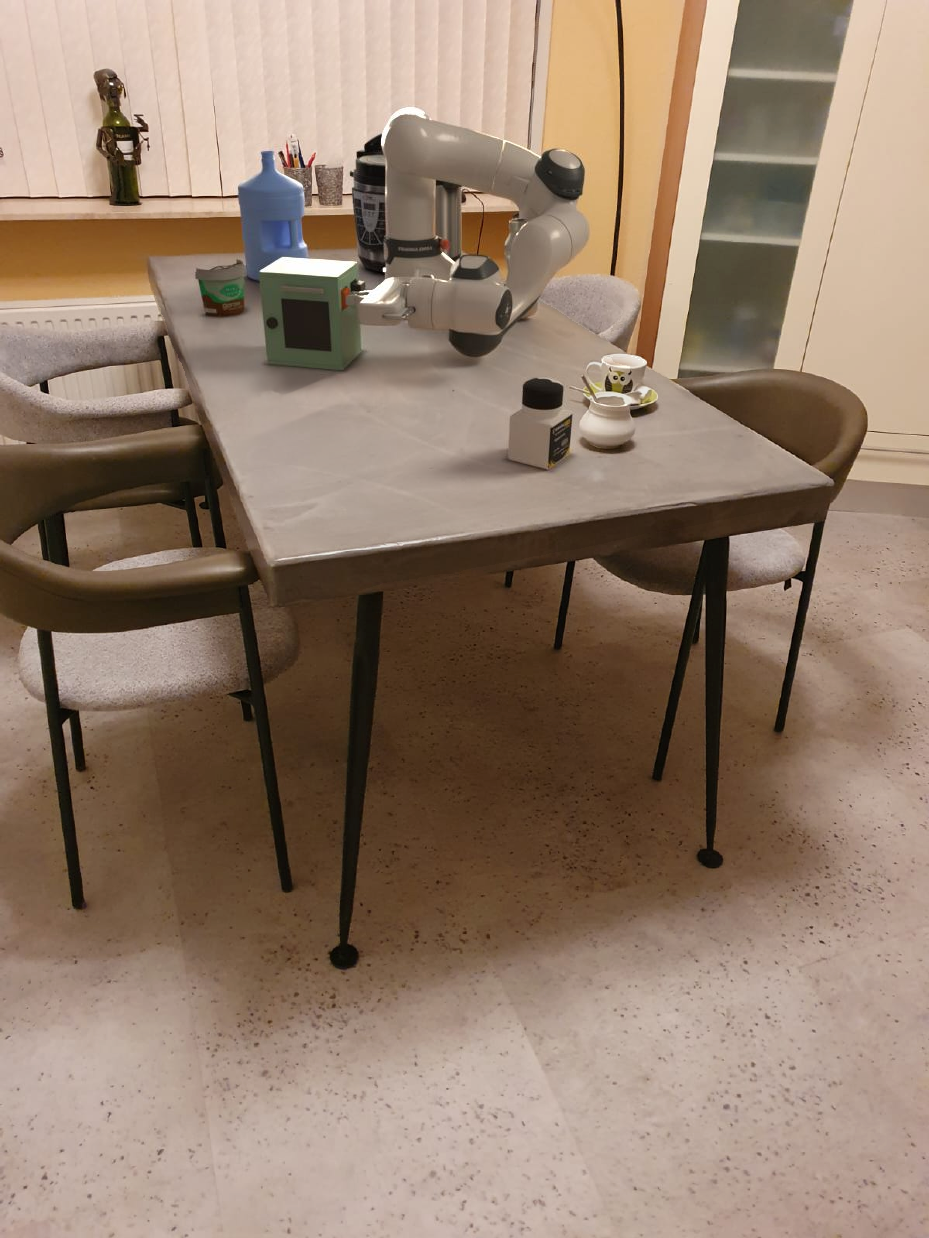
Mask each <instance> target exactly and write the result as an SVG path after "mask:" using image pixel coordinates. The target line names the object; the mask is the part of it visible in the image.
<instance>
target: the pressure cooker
mask: <svg viewBox="0 0 929 1238" xmlns="http://www.w3.org/2000/svg"><path fill="white" fill-rule="evenodd" d="M382 135H383V132H381V133H379V134H377V135H375V136H374V137H373V136H372V138H370V139H369V140H368V141H367V142H365V143H364V144H363V149H360V150H357V151H356V155H355V156H356V159H355V168H354V169H353V170H350V171H349V176H350V177H351V178H353V186H352V187H351V197H352V198H351V199H352V209H353V218H354V223H355V224H354V226H355V232H356V233H355V234H356V247H357V257H358V259H359V261H360V262H361V264H362V265H363V266H364V267H365V268H366V269H369V270H372V271H375V272H380V273H384V272H383V268H386V262H385V259H384V236H385V235H386V217H385V181H386V158H385V156H384V154H383V150H382ZM462 187H463V188H464V186H461V185H458V184H454V183H449V182H444V181H439V180H436V188H435V235H437V236H438V237H440V238H442V239H446V240H447V241H449V242H450V247H449V249H448V250H443V253H444V254H445V255H447V256H448V257H449V258H450V259H452V260H453V261H454V262H455V261H456V260H457V259H459V258H460V257H461V256H462V249H463V248H462V246H463V245H462V243H463V241H462Z"/></svg>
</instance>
